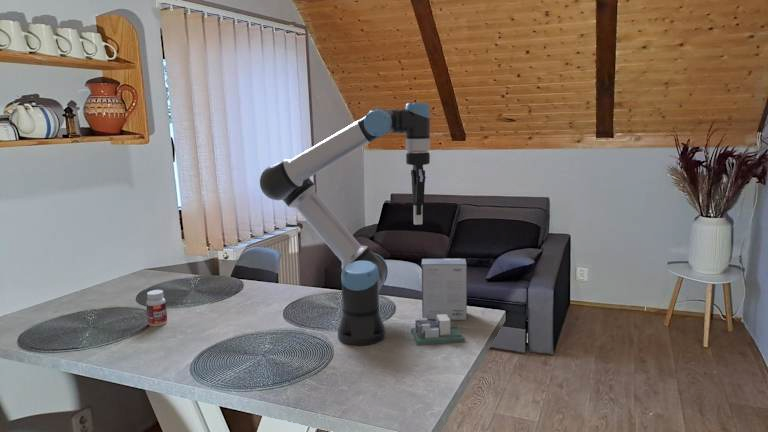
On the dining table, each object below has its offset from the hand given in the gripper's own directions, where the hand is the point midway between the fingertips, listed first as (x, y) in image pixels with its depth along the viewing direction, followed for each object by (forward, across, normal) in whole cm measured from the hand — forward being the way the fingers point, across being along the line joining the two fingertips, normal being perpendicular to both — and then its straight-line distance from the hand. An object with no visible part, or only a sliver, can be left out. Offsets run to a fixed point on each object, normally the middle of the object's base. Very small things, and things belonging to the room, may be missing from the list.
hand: (418, 223), depth 179 cm
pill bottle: (+35, +13, +89) cm, 96 cm away
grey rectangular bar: (+31, -12, -2) cm, 33 cm away
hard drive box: (+35, +5, -10) cm, 36 cm away
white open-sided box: (+33, -12, -6) cm, 36 cm away
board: (+34, -12, -4) cm, 37 cm away
